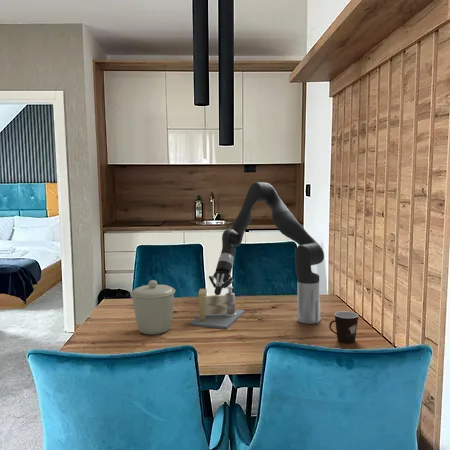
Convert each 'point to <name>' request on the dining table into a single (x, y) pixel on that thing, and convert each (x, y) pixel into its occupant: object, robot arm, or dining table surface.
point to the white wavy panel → (220, 304)
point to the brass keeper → (202, 304)
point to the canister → (153, 307)
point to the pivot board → (218, 318)
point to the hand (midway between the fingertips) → (217, 294)
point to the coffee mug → (345, 326)
